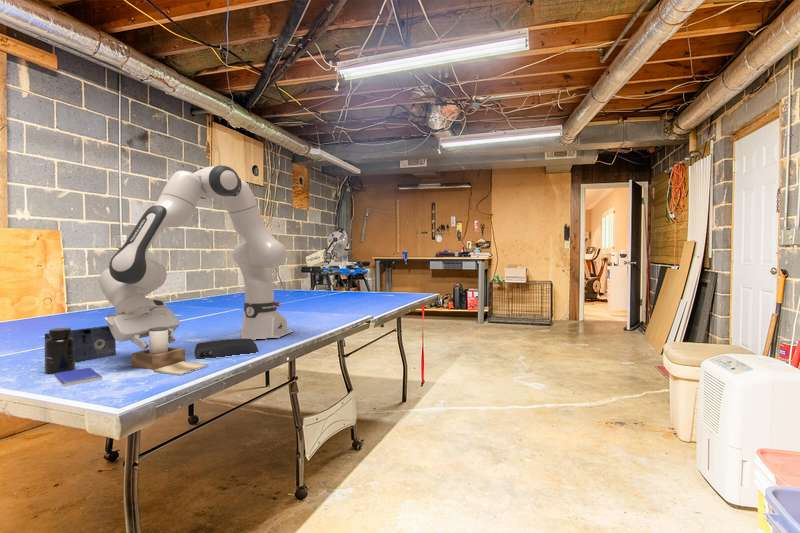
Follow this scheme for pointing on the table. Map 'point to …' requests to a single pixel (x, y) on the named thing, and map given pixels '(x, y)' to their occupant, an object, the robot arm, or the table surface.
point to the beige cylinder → (158, 340)
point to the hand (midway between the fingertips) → (159, 344)
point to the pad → (180, 368)
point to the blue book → (77, 376)
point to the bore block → (157, 358)
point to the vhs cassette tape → (92, 343)
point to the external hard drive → (224, 348)
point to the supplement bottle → (59, 351)
